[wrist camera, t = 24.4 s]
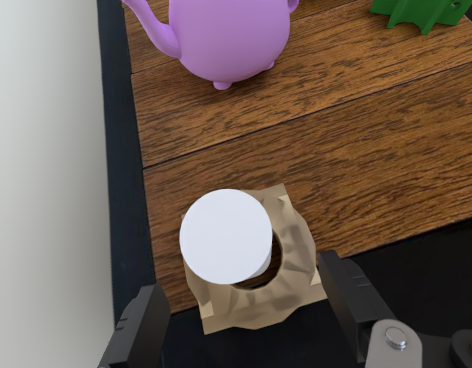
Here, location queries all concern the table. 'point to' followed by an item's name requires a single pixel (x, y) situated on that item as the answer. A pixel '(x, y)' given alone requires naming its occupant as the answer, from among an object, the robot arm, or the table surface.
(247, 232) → the tube
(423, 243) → the table surface
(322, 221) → the table surface
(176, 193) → the table surface
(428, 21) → the pipe clamp
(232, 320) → the socket pad
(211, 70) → the teapot
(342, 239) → the table surface
